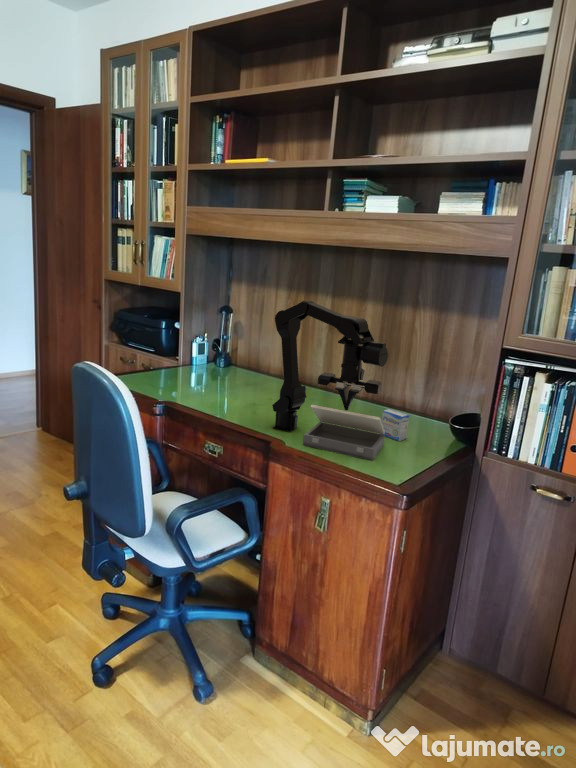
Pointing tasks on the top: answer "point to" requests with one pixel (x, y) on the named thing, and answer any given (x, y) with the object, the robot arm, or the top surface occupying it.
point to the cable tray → (344, 440)
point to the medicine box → (395, 424)
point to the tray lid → (349, 419)
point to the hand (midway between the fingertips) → (346, 410)
